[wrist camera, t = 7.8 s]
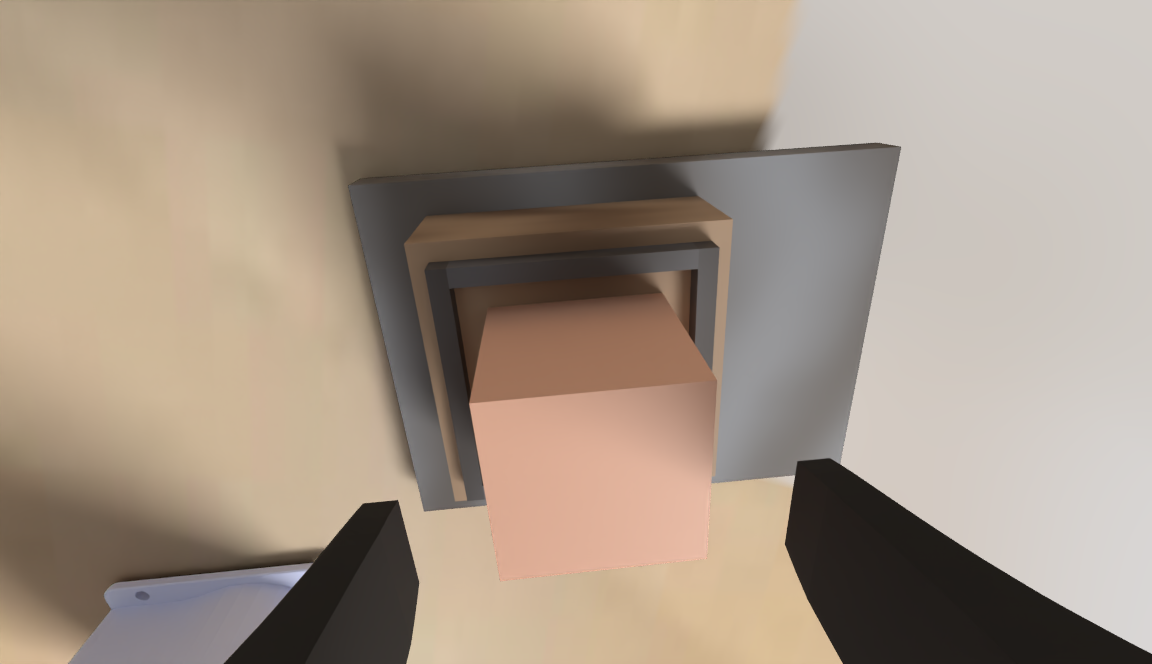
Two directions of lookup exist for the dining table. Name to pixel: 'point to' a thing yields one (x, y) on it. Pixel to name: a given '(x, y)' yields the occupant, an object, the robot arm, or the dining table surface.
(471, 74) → the dining table surface
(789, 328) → the base
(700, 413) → the terracotta block
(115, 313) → the dining table surface
